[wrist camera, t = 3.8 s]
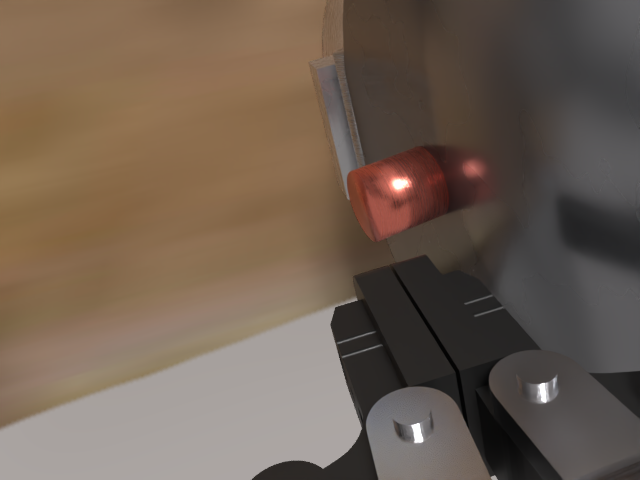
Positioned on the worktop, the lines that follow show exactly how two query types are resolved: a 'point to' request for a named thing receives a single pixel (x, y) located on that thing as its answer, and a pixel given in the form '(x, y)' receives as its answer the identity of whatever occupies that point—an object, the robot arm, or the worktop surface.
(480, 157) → the lid
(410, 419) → the robot arm
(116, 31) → the worktop surface
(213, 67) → the worktop surface
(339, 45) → the cooker pot
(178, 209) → the worktop surface
